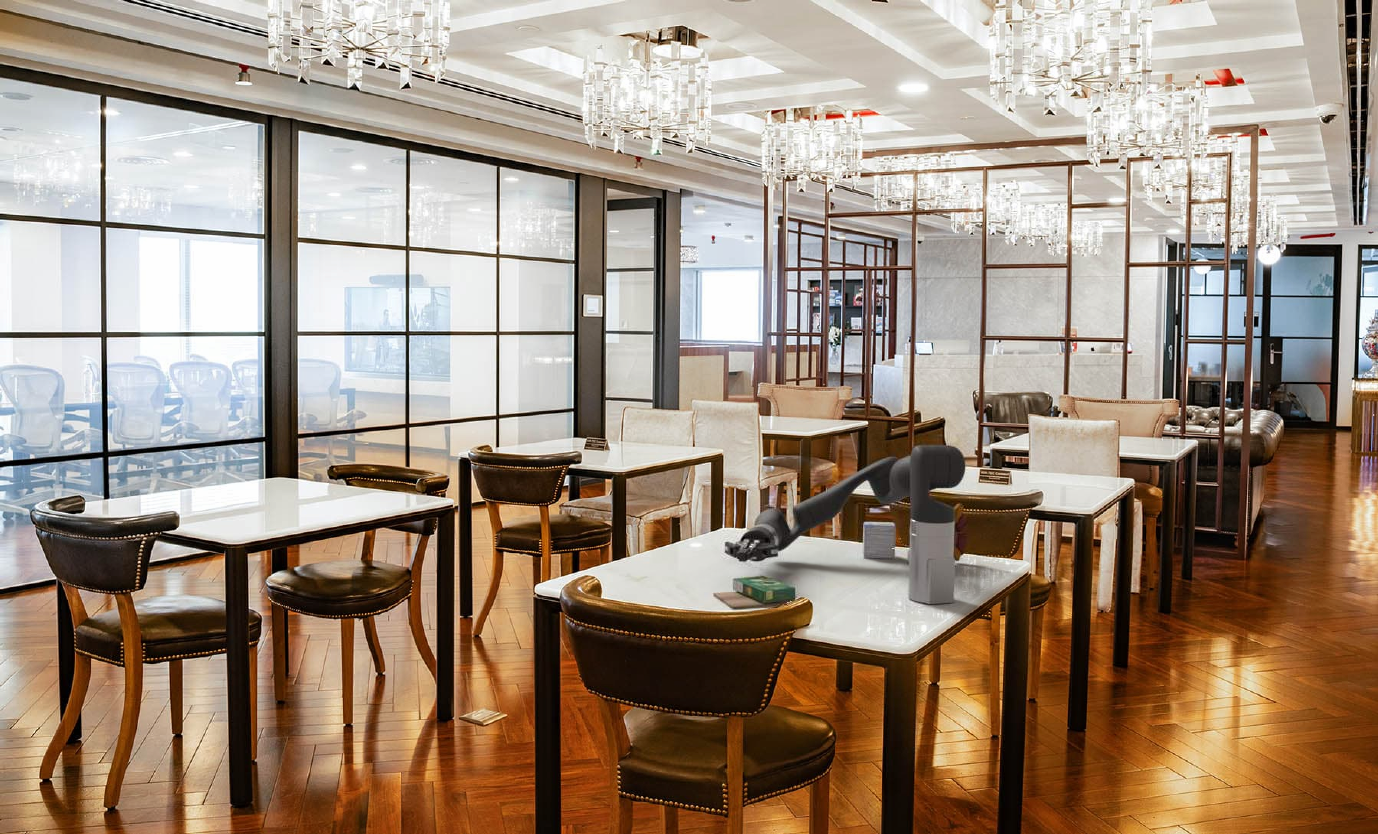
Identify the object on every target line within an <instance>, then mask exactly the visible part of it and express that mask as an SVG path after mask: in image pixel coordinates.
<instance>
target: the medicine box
mask: <svg viewBox="0 0 1378 834" xmlns="http://www.w3.org/2000/svg"><path fill="white" fill-rule="evenodd" d="M862 526H863V529H862V531H863V533H862V534H863V535H862V554H863V555H862V556H863V558H864V559H891V560H894V559H896V532H897V531H896V528H897V527H896V524H895V523H894V522H888V521H887V522H886V521H885V522H883V521H864V522H863V525H862ZM892 548H895V549H892Z"/></svg>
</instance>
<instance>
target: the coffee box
mask: <svg viewBox="0 0 1378 834" xmlns="http://www.w3.org/2000/svg"><path fill="white" fill-rule="evenodd" d="M732 580H733V581H732V582H733V585H732V587H733V591H734V592H740V593H742V594H744V595H747V596H749V597H752V598H754V599H756V600H759V601H761V602H763V603H770V602H781V601H791V600H795V597H796V587H795V586H791V585H789V584H786V583H783V582H781V581H779V580H774V579H772V578H769V577H767V576H764V575H759V576H747V577H735V578H733V579H732Z"/></svg>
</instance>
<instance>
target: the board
mask: <svg viewBox="0 0 1378 834" xmlns="http://www.w3.org/2000/svg"><path fill="white" fill-rule="evenodd" d="M713 595H714V596H713V597H715V598H716V599H718V600H719V601H721V602H722V603H723V604H724V605H727V607H729V608H730V609H732V610H741V609H742V610H743V609H751V608H752V609H753V608H754V609H755V608H767V607H768V608H769V607H779V606H778V605H783V604H786V603H787V602H790V601H781V602H770V603H763V602H761V601H759V600H756V599H754V598H752V597H749V596H747V595H744V594H742V593H740V592H737V591H727V592H726V591H724V592H713ZM796 598H798V597H797V596H795V599H796ZM791 601H794V600H791ZM783 606H784V605H783Z"/></svg>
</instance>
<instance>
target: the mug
mask: <svg viewBox="0 0 1378 834" xmlns="http://www.w3.org/2000/svg"><path fill="white" fill-rule="evenodd" d="M964 507H965V506H964V505H963V504H962V503H957V504H956V505H954V507H953V508H954V511H955V520H954V521H955V522H954V532H955V533H954V552H953V558H954V559H955V562H959V561H960V559H961V556H964V553H965V550H966V546H967V545H968V539H969V537H968V532H969V527H968V524H967V523H966V522H967V518H966V516H965V513H963V512H964ZM909 515H910V516H909V517H910V519H911V514H909ZM908 529H909V530H908V531H909V532H908V533H909V535H910V526H909V528H908ZM909 555H910V549H909V550H908V551H907V556H906V557H907V560H908V562H907V563H908V565H909Z"/></svg>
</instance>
